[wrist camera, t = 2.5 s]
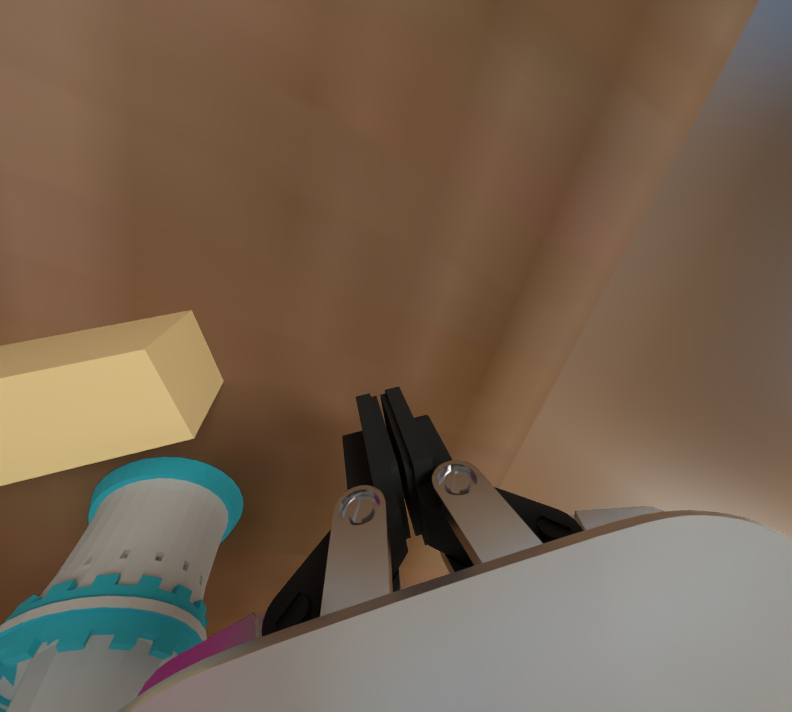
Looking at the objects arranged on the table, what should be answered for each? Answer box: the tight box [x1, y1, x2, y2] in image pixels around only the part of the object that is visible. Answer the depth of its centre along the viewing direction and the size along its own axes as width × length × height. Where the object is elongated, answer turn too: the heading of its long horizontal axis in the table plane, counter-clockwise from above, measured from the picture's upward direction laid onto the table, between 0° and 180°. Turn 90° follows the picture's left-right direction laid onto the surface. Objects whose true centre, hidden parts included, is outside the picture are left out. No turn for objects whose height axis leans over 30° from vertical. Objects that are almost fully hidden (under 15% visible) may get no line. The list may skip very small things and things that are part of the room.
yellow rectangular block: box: [0, 310, 224, 486], centre depth 16 cm, size 5×12×6 cm, turn 98°
